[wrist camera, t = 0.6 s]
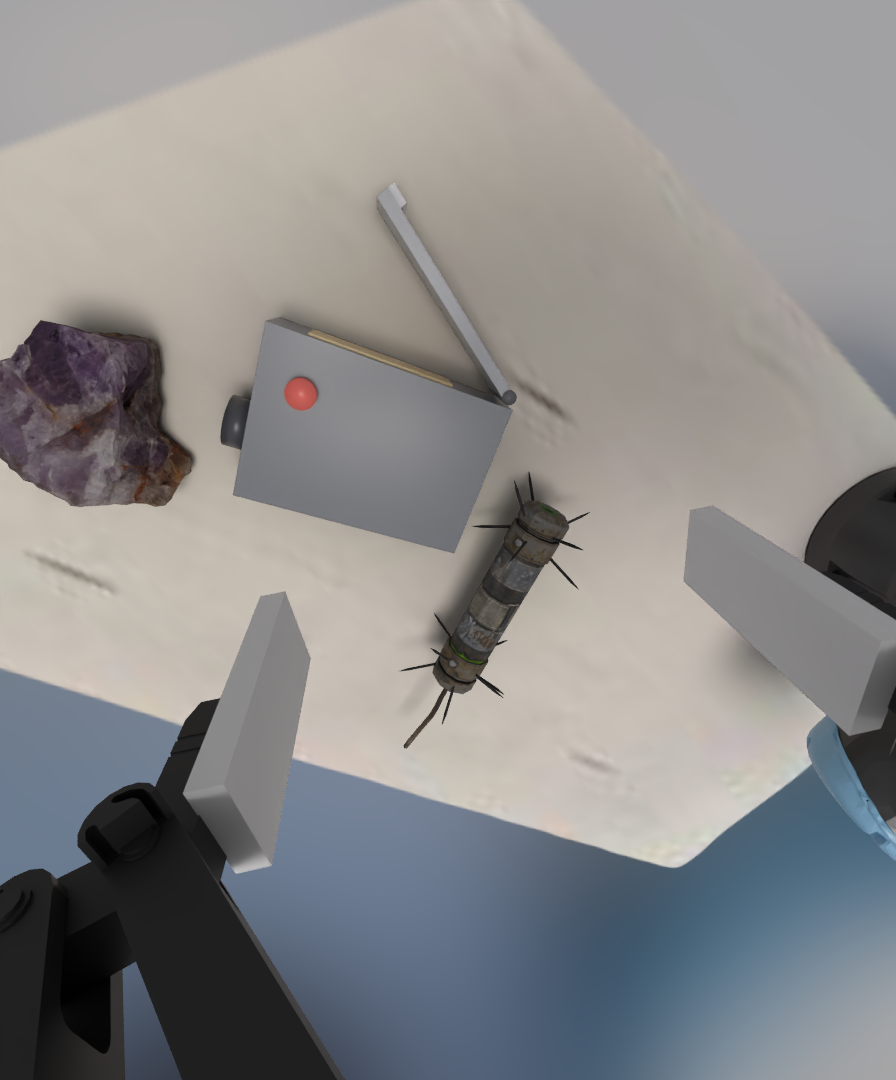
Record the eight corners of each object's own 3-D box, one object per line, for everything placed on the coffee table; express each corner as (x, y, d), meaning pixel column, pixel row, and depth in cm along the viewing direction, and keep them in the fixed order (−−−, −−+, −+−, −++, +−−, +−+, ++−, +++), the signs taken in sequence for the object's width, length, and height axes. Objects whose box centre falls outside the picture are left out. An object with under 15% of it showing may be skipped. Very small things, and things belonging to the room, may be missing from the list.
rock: (192, 343, 35) (34, 323, 33) (142, 331, 27) (-71, 303, 25) (197, 499, 38) (54, 489, 36) (155, 529, 30) (-32, 519, 28)
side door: (509, 384, 38) (525, 395, 34) (493, 396, 38) (507, 408, 34) (393, 193, 31) (395, 177, 27) (374, 208, 31) (374, 195, 27)
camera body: (497, 395, 38) (516, 410, 33) (446, 526, 43) (455, 558, 38) (257, 306, 33) (235, 308, 28) (228, 466, 38) (205, 492, 33)
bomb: (572, 525, 31) (396, 815, 42) (643, 536, 38) (477, 781, 49) (472, 451, 38) (343, 716, 49) (549, 473, 45) (421, 699, 56)
